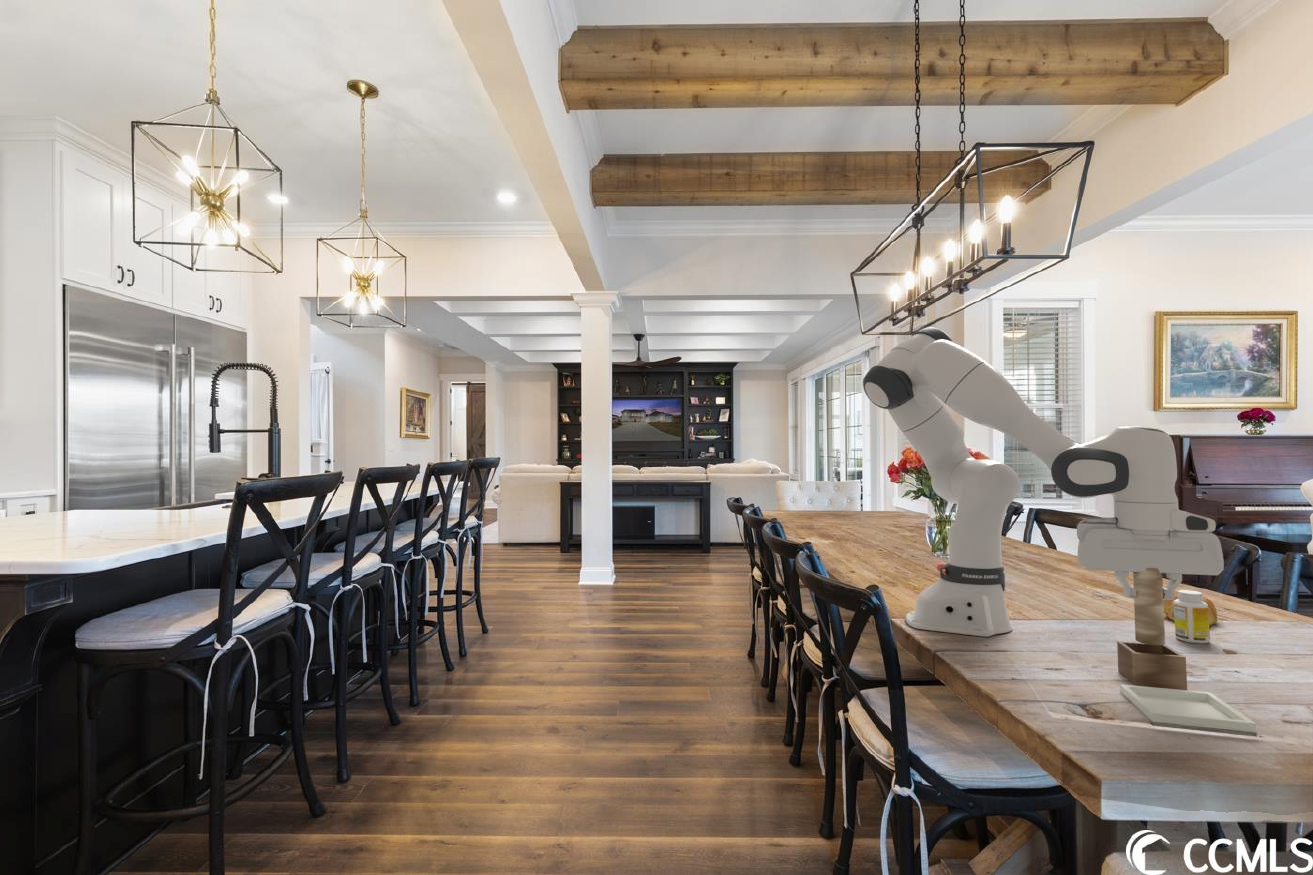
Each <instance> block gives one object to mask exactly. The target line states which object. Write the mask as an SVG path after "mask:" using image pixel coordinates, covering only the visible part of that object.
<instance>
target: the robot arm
mask: <svg viewBox="0 0 1313 875" xmlns="http://www.w3.org/2000/svg"><path fill="white" fill-rule="evenodd" d="M862 386H863V390H864V393H865V395H866V396H867V397H866V398H868V399H869V400H870V401H871V402H872V403H873V405H875V406H877V407H878V408H880V409H884V410H887V412H888V413H889V415H890V416H891V418H892V420H893V422H894V423H895V424H896V426H897V427H898V428H899V430H900V431H901V432H902V433H903V435H904V436H905V437H906V439H907V440H908V441H909V443H910V444H911V446H912V447H913V448H914V450H915V451H916V452H917V453H918V455H919V456H920V458H921V459H922V462H923V463H924V465H925V467H926V469H927V472H928V474H929V477H930V484H931V488H932V489H933V491H934V493H935V494H936V495H937V496H938V497H940V498H942V499H943V500H945V501H946V502H948V503H951V504H956V505H957V510H956V515H955V519H954V521H953V523H952V525H951V526H950V527H949V529H948V533H947V538H948V540H947V541H948V563H946V564H944V563H943V562H938V563H937V564H936V566H935V567H936V570H937V571H938V572H939V577H940V579H939V580H937V581H936V582H934V583H932V584H931V585H930V586H928V587H927V588H925V589H923V590H922V591H920V593H919V595H918V596H917V599H916V602H915V607H914V608H915V609H914V610H912V611H909V612H907V614H905V615H906V616H905V621H906V623H907V624H908V625H909V626H910V627H912V628H915V629H919V630H923V631H924V630H925V631H933V632H934V631H935V632H944V633H949V634H950V633H952V634H959V635H960V634H961V635H970V636H975V637H976V636H977V637H992V636H994V635H1000V634H1004V633H1005V634H1006V633H1009V632H1011V631H1012V630H1013V626H1012V623H1011V620H1010V617H1009V613H1008V609H1007V603H1006V599H1005V598H1006V597H1005V591H1006V572H1005V567H1004V566H1003V563H1002V562H1003V561H1002V558H1003V557H1002V533H1003V532H1002V531H1003V528H1004V527H1003V525H1004V522H1005V518H1006V515H1007V511H1008V508H1009V506H1010V505H1011V503H1012V502H1013V501H1014V500H1015V499H1016V498H1017V496H1018V494H1019V493H1020V492H1019V491H1020V478H1019V477H1018V476H1019V475H1018V474H1017V472H1016V471H1015V470H1014V469H1013V468H1012V467H1011V466H1009V465H1007V464H1005V463H1002V462H999V461H998V460H994V459H982V458H981V459H978V458H977V459H976V458H975V457H973V456H972V455H971V454H970V452H969V451H968V448H967V446H966V443H965V441H964V430H963V428H962V427H961V426H960V424H959V423H958V421H957V420H956V419H955V417H954V416H953V415H952V414H951V412H950V411H949V410H948V408H947V407H946V406H948V407H949V408H950V409H951V410H953V411H954V412H956V413H958V414H959V415H961V416H963V417H964V418H967V419H968V420H969V421H972V422H974V423H976V424H978V425H981V426H983V427H987V428H991V429H993V430H996V431H999V432H1001V433H1002V434H1005V435H1007V436H1008V437H1010V438H1012V439H1014V441H1016V442H1017V443H1018V444H1020V445H1021V446H1022V447H1024V449H1026V450H1028V451H1030V453H1032V454H1033V455H1035V456H1036V457H1037V458H1039V459H1040V460H1041V461H1043V463H1044V464H1046V466H1047V468H1049V470H1050V475H1051V478H1052V480H1053V482H1054V484H1055V485H1056V487H1057V488H1059V490H1060V491H1062V492H1063V493H1065V494H1066V495H1068V496H1072V497H1074V498H1079V499H1091V498H1095V497H1097V496H1103V495H1112V496H1113V515H1114V517H1094V516H1093V517H1092V516H1091V517H1089V516H1088V517H1086V518H1085V519H1082V520H1080V521H1079V522H1078V523H1077V525H1076V536H1077V539H1078V540H1079V541H1078V546H1077V563H1078V564H1079V565H1080V566H1081V568H1083V569H1085V570H1088V571H1106V572H1107V571H1110V572H1114V576H1115V578H1116V579H1117V581H1118V582H1119V583H1120V585H1121V586H1122V596H1123V597H1125V598H1128V599H1129V598H1132V599H1134V598H1137V594H1136V592H1137V588H1135V587H1134V585H1130V584H1129V582H1128V580H1127V579H1128V578H1130V574H1129V572H1131V573H1133V572H1144V571H1145V570H1146V568H1158V570H1159V572H1160V573H1162V574H1166V578H1167V579H1169V581H1168V582H1167V583H1166V585H1165V586H1164V587H1163V600H1164V599H1166V600H1174V599H1175V590H1177V589H1178V588H1179V585H1180V584H1181V583H1182V582H1183V575H1202V576H1219V575H1220V574H1221V573H1222V572H1223V571H1224V567H1225V566H1224V565H1225V562H1224V554H1223V553H1224V552H1223V549H1222V543H1221V541H1220V539H1219V537H1218V536H1217V535H1216V534H1214V533H1213V532H1214V531H1215V530H1216V527H1217V525H1216V521H1215V520H1214V519H1212V518H1209V517H1206V516H1201V515H1197V514H1194V513H1192V512H1190V511H1186V510H1180V509H1179V499H1178V496H1177V495H1176V489H1175V487H1176V482H1177V478H1178V465H1177V456H1176V455H1177V454H1176V450H1175V445H1174V441H1173V439H1172V437H1171V436H1170V435H1169V434H1168V433H1167V432H1165V431H1164V430H1161V429H1159V428H1153V427H1147V426H1138V425H1121V426H1117V427H1116V428H1115V429H1114V430H1112V431H1110V432H1109V433H1106V434H1104V435H1103V436H1100V437H1098V438H1095V439H1093V440H1090V441H1088V442H1084V443H1080V442H1077V441H1075V440H1072V439H1070V437H1067V436H1066V435H1064V434H1063V433H1061V432H1060V431H1059V430H1058V429H1056V428H1055V427H1054V426H1052V425H1051V424H1050V423H1048V422H1047V421H1045V420H1044V419H1043V418H1041V417H1040V416H1039V415H1038V414H1036V413H1035V412H1034V411H1033V410H1032V409H1031V408H1030V407H1029V406H1028V405H1027V403H1025V401H1024V400H1023V399H1022V397H1021V396H1020V395H1019V392H1017V390H1016V389H1015V388H1014V386H1013V385H1012V384H1011V382H1010V381H1008V379H1007V378H1006V377H1005V376H1004V375H1002V373H1001V372H999V371H998V369H996V368H995V367H994V366H993V365H991V364H989V362H987V361H985V360H984V359H982V358H981V357H980V356H978V355H976V354H975V353H973V352H972V351H970V350H968V349H966V348H965V347H962V346H961V345H958V344H956V343H954V341H953V339H952V338H951V337H950V335H949V334H948V333H946V332H945V331H944V330H941V329H939V328H937V327H934V326H927V327H924V328H921V329H919V330H917V331H915V332H913V333H912V334H911V336H909V337H907V339H904V340H903V341H902V342H900V343H899V344H897V345H896V346H895V347H893V348H892V349H891V350H890V351H889V352H888V353H887V354H886V355H885V356H884V357H883V358H882V359H881V360H880V361H879V362H878V363H877V364H876V365H874V366H872V367H871V368H870V369H869V371H867V373H866V374H865V375H864V377H863V380H862ZM945 405H946V406H945Z"/></svg>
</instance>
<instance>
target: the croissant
mask: <svg viewBox="0 0 1313 875" xmlns="http://www.w3.org/2000/svg"><path fill="white" fill-rule="evenodd" d="M1174 593H1175V592H1174ZM1176 599H1179V598H1178V592H1176V593H1175V599H1174V600H1176ZM1174 600H1166V599H1163V601H1164V616H1166V617H1167V618H1169V619H1170V620H1172V621H1174V622H1175V619H1174ZM1203 602H1205V603H1207V604H1208V612H1209V626H1212V625H1216V624H1217V623H1218V612H1217V608H1216V606H1215V604H1214V603H1213V601H1211V600H1210V599H1209V598H1208V597H1206V596H1205V595H1203Z"/></svg>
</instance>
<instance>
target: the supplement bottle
mask: <svg viewBox="0 0 1313 875" xmlns="http://www.w3.org/2000/svg"><path fill="white" fill-rule="evenodd" d="M1177 593H1178V598H1179V599H1176V600H1174V619H1175V621H1174V631H1175V632H1174V633H1175V637H1176V639H1177V640H1180V641H1182V642H1186V643H1191V644H1207V643H1208V644H1209V642H1210V640H1211V633H1210V632H1211V631H1210V625H1209V612H1208V604H1207V603H1205V602H1203V596H1204V594H1203V593H1202V592H1200V591H1197V590H1187V589H1180V590H1177Z"/></svg>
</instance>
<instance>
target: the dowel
mask: <svg viewBox="0 0 1313 875" xmlns="http://www.w3.org/2000/svg"><path fill="white" fill-rule="evenodd" d="M1163 574H1164V573H1160V572H1159V570H1158V568H1146V570H1145V571H1144V572H1132V577H1133V580H1132V581H1133V583H1132V584H1133V585H1132V586H1133V587H1135V588H1137V592H1136V594H1137V598H1133V604H1134V608H1133V609H1134V610H1133V611H1134V630H1135V631H1134V634H1135V636H1134V638H1135V641H1136V642H1137V643H1144V644H1150V645H1166V634H1165V613H1164V601H1163V600H1164V599H1163V588H1164V580H1163V579H1164V578H1163V577H1164V576H1163Z"/></svg>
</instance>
